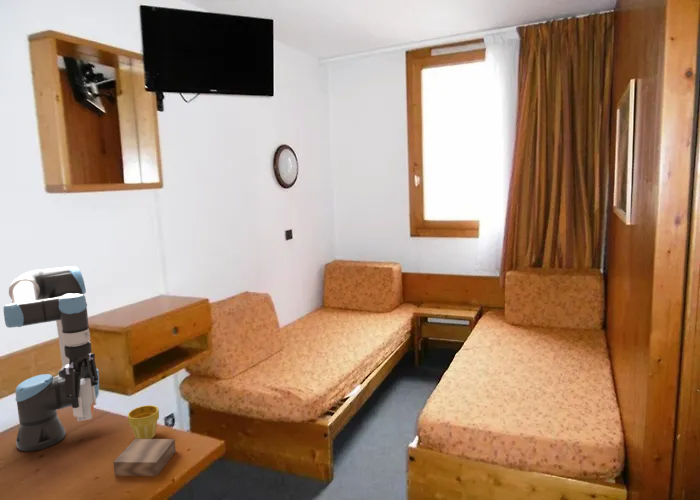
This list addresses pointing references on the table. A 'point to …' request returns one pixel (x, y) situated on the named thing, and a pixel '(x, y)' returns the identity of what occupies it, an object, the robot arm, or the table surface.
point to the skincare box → (86, 399)
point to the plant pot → (144, 421)
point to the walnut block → (144, 457)
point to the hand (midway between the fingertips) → (85, 410)
